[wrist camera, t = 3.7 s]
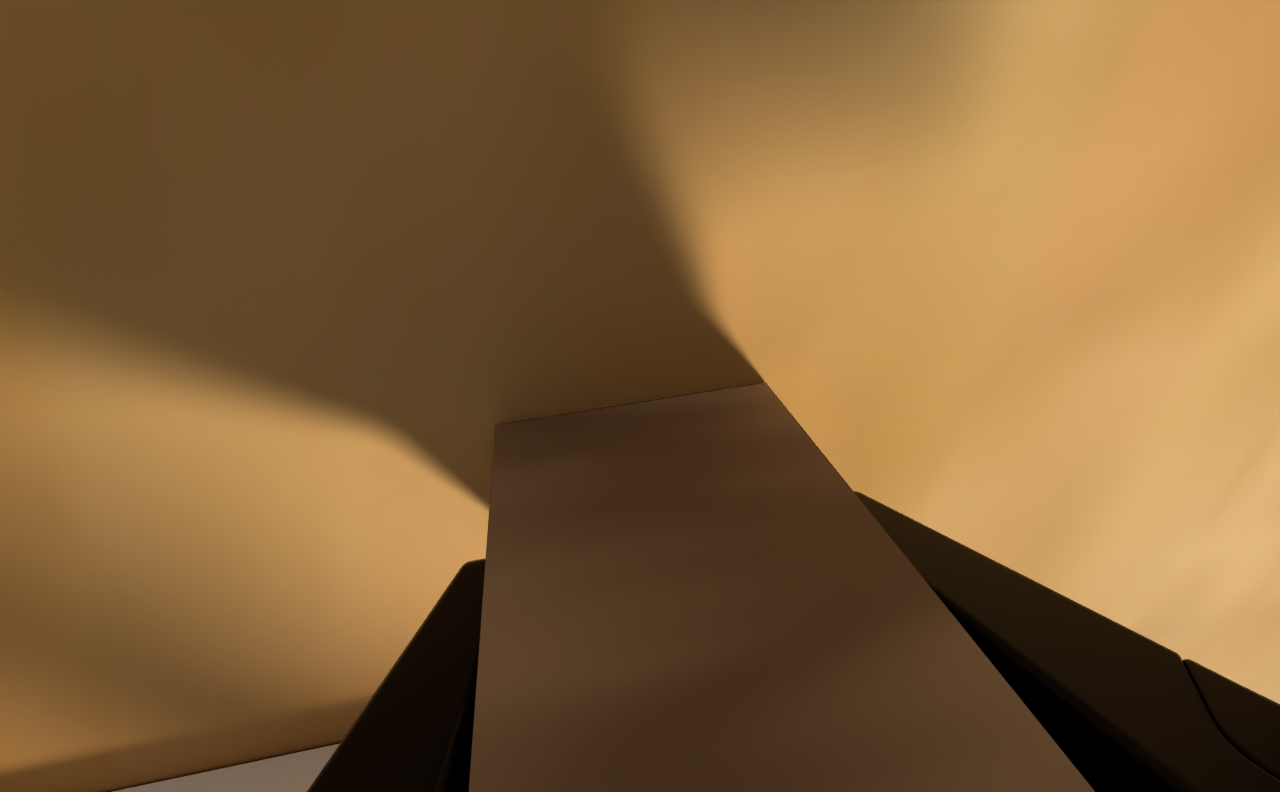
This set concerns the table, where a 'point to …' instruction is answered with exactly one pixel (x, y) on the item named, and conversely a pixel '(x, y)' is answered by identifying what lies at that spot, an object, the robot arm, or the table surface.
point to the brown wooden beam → (721, 621)
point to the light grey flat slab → (252, 775)
